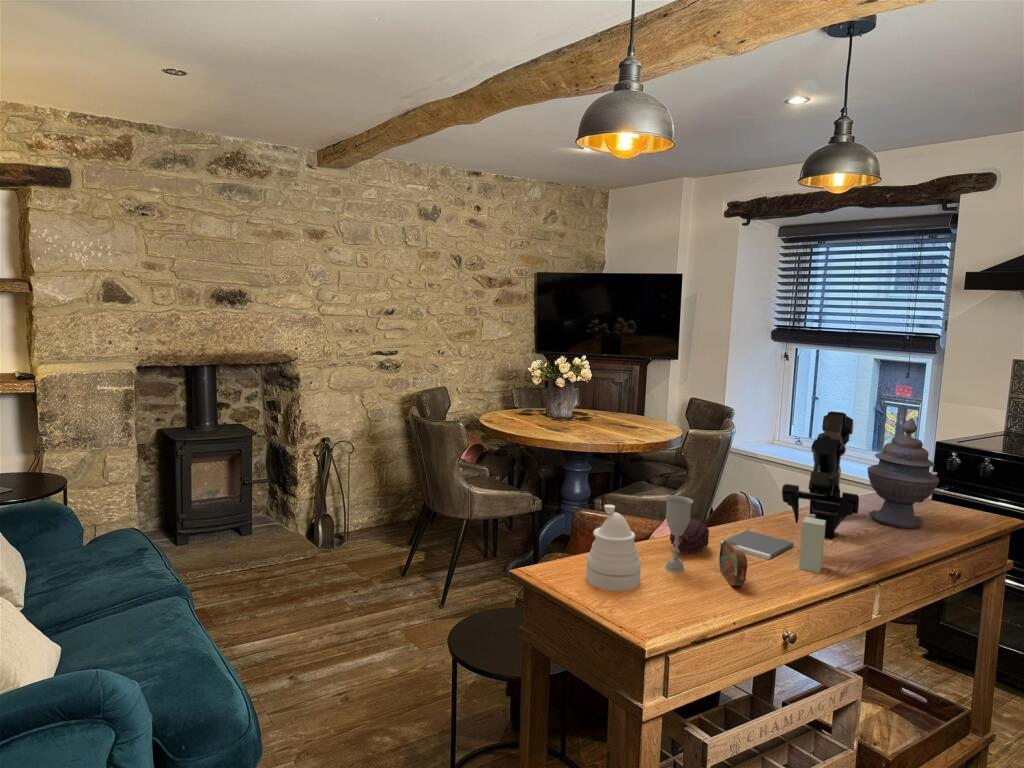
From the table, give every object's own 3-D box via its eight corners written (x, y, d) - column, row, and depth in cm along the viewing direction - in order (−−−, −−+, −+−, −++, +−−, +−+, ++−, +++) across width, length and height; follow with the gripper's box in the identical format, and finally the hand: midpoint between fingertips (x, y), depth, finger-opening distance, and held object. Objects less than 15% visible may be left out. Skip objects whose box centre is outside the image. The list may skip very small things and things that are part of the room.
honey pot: (575, 580, 169) (579, 507, 167) (604, 566, 179) (608, 497, 177) (621, 596, 161) (626, 519, 159) (649, 580, 171) (654, 508, 169)
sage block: (801, 562, 186) (805, 516, 184) (821, 566, 183) (826, 520, 182) (798, 568, 181) (802, 521, 180) (819, 573, 179) (823, 525, 177)
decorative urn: (844, 512, 230) (864, 409, 225) (889, 512, 237) (909, 412, 233) (897, 535, 212) (920, 423, 207) (943, 534, 219) (966, 425, 214)
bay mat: (746, 533, 208) (746, 530, 208) (793, 546, 199) (793, 542, 198) (719, 545, 197) (719, 542, 197) (767, 559, 187) (768, 555, 187)
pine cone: (681, 537, 202) (702, 511, 200) (705, 563, 196) (728, 536, 194) (651, 535, 189) (674, 507, 187) (677, 562, 183) (701, 534, 180)
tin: (717, 567, 180) (719, 535, 180) (729, 568, 180) (732, 536, 179) (733, 591, 166) (736, 557, 165) (747, 592, 165) (750, 557, 164)
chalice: (655, 565, 180) (659, 496, 178) (677, 562, 183) (681, 494, 181) (672, 575, 174) (676, 504, 172) (694, 572, 176) (699, 502, 174)
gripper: (785, 454, 191) (775, 503, 183) (862, 464, 182) (855, 516, 174) (787, 477, 199) (778, 525, 191) (861, 487, 190) (854, 538, 182)
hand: (815, 525), depth 184 cm, fingers open, 9 cm apart
